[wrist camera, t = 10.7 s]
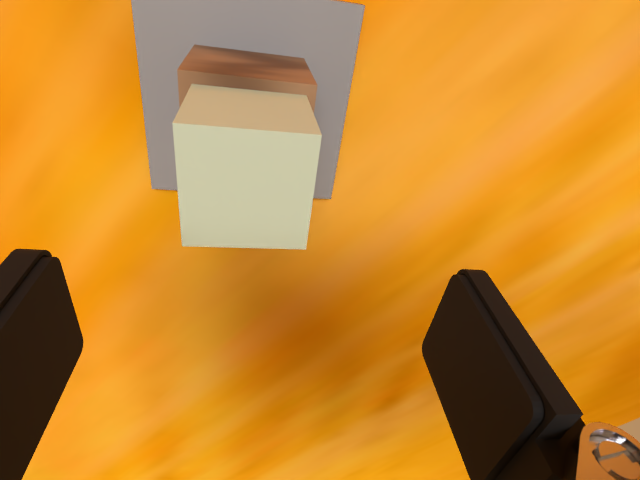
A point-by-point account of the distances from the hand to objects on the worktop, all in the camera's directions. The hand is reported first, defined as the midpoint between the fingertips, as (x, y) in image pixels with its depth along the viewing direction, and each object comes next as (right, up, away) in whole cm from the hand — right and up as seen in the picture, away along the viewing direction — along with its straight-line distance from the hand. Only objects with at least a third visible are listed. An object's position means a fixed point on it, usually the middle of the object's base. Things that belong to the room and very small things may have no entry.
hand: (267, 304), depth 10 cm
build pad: (-3, +10, +14) cm, 18 cm away
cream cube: (-2, +6, +9) cm, 11 cm away
